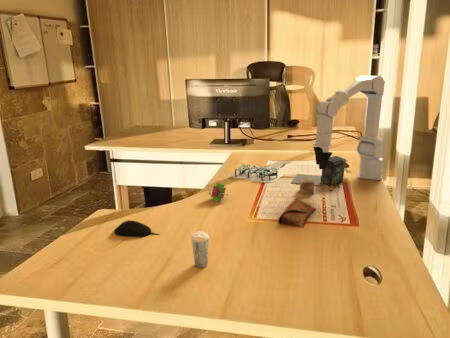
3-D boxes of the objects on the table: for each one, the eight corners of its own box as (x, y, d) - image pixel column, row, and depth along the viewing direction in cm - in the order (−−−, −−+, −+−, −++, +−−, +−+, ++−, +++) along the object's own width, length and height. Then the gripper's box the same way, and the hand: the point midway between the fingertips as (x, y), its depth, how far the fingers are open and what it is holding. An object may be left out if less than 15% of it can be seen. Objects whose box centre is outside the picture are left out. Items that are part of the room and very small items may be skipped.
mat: (324, 177, 168) (324, 176, 168) (319, 186, 156) (319, 185, 156) (297, 174, 172) (297, 173, 172) (291, 183, 161) (291, 182, 161)
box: (330, 186, 157) (333, 162, 153) (320, 181, 161) (323, 158, 157) (343, 182, 161) (346, 158, 157) (332, 178, 165) (336, 155, 161)
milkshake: (189, 261, 101) (187, 227, 98) (209, 259, 102) (208, 226, 99) (189, 270, 97) (187, 235, 94) (210, 269, 97) (208, 233, 95)
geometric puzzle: (222, 189, 149) (212, 176, 144) (234, 193, 145) (225, 180, 140) (212, 203, 147) (202, 191, 142) (224, 207, 142) (214, 195, 137)
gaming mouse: (155, 240, 114) (154, 228, 113) (110, 236, 117) (109, 224, 116) (163, 231, 120) (162, 219, 119) (120, 227, 123) (119, 216, 122)
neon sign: (296, 158, 184) (271, 175, 160) (295, 167, 185) (271, 184, 161) (256, 154, 195) (228, 168, 170) (256, 162, 196) (228, 177, 172)
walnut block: (312, 190, 152) (312, 178, 151) (313, 194, 148) (314, 182, 146) (299, 190, 153) (300, 178, 152) (300, 194, 148) (301, 182, 147)
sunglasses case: (304, 228, 119) (294, 209, 119) (285, 235, 122) (275, 217, 122) (317, 208, 134) (308, 191, 134) (299, 214, 138) (291, 198, 138)
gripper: (311, 129, 153) (307, 161, 157) (316, 135, 139) (312, 170, 143) (328, 130, 153) (325, 162, 156) (336, 136, 139) (331, 171, 142)
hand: (320, 166), depth 149 cm, fingers open, 7 cm apart
